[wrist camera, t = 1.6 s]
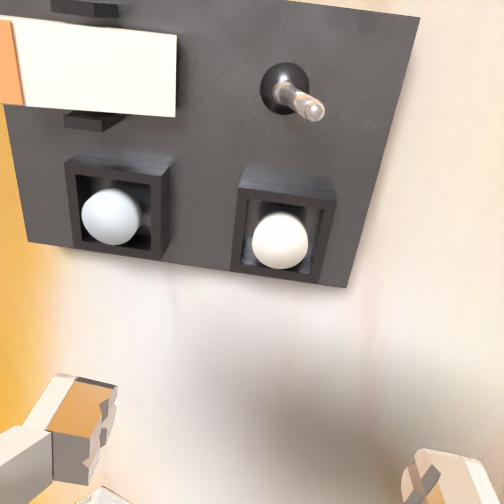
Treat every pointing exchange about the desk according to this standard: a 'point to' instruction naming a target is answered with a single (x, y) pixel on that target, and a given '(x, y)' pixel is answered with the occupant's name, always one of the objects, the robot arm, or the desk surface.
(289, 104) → the toggle lever
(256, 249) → the button
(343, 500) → the desk surface
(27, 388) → the desk surface
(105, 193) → the button
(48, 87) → the rocker
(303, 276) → the panel
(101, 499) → the tea box
